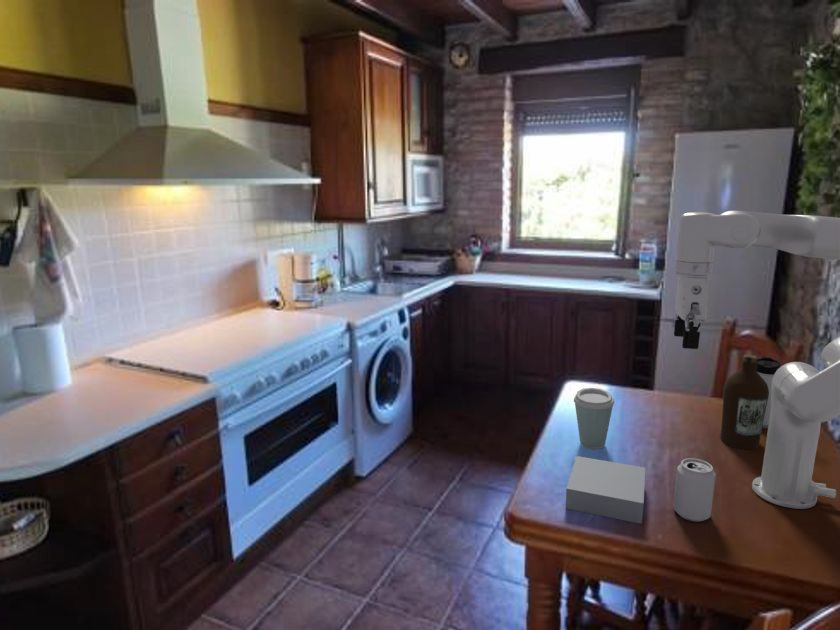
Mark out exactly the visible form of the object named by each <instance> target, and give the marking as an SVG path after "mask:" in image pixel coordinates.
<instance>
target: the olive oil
mask: <svg viewBox="0 0 840 630" xmlns="http://www.w3.org/2000/svg"><path fill="white" fill-rule="evenodd" d="M757 359H758V356H756V355H753V354H744V355H743V358H742V362H741V368H740V369H738V371H737V370H736V372H734V373H733V374H731V375H730V376H729V377H728V378H727V379H726V381H725V383H724V384H723V394H722V395H723V396H722V397H723V398H722V412H721V413H722V414H721V425H720V426H721V427H720V436H719V437H720V440H721V441H722V442H723V443H724V444H725V445H728V446H731V447H732V448H736V449H741V450H752V449H757V448H758V447H759V446H760V442H761V435H762V433H763V428H762V426H763V421H764V416H765V411H766V406H767V401H768V397H769V389H768V385H767V383H766V382H765V380H764V379H763V378H762V377H761V376H760V375H759V374H758V372H757V371H756V366H757Z"/></svg>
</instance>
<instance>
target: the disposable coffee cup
mask: <svg viewBox="0 0 840 630" xmlns="http://www.w3.org/2000/svg"><path fill="white" fill-rule="evenodd" d="M573 402H574V406H575V413H576V421H577V422H576V423H577V428H578V434H579V436H578V437H579V442H580V444H581V446H583V448H587V449H589V450H600V449H602V448H604V446H605V445H606V442H607V437H608V432H609V427H610V422H611V417H612V412H613V407H614V405H615V398H613V395H612V394H611V393H610V392H609V391H607V390H606V389H603V388H599V387H598V388H596V387H585V388H582V389H580V390H578V391H576V394H575V396H574V397H573Z"/></svg>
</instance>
